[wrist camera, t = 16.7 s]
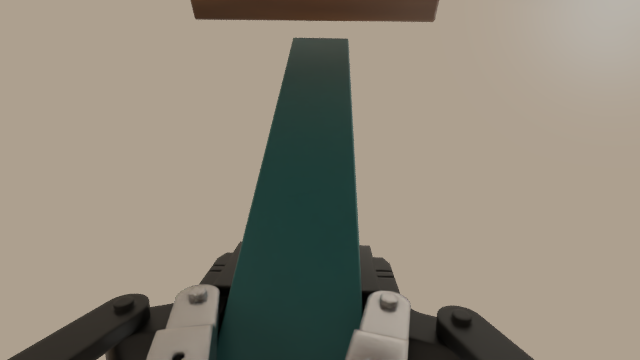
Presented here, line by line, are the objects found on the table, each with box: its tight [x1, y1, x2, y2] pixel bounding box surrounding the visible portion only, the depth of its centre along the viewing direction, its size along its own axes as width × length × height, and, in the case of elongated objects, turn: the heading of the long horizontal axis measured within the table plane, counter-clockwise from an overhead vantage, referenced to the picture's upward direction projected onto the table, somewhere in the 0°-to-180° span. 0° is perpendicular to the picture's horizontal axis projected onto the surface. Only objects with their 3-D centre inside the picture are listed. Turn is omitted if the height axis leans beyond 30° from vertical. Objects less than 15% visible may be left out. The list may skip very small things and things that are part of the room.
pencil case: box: [217, 38, 363, 360], centre depth 18 cm, size 22×4×3 cm, turn 2°
